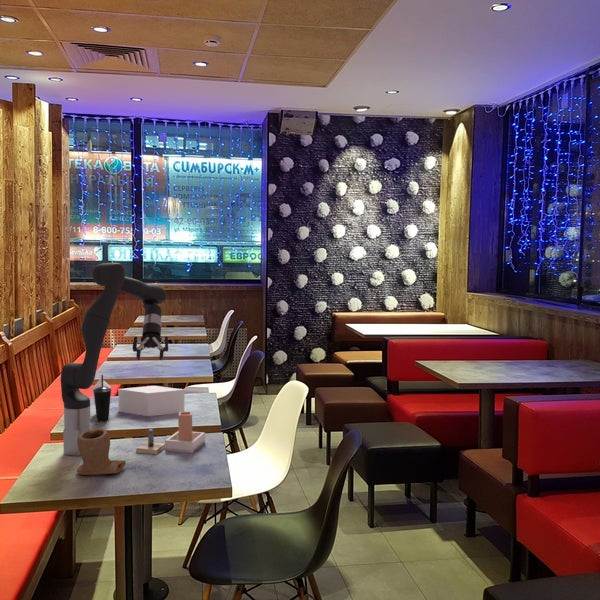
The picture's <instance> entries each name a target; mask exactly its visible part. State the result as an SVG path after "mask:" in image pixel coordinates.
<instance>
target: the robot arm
mask: <svg viewBox="0 0 600 600" xmlns="http://www.w3.org/2000/svg"><path fill="white" fill-rule="evenodd" d="M92 279H93V281H94V282H95V284H96V285H98V286H99V287H104V288H103V290H102V292H101V294H100V295H99V296H98V298H97V299H96V300H95V301H94V302H93V303H92V304H91V305H90V306H89V308H88V309H87V310H86V312H85V314H84V318H83V319H82V324H81V327H80V332H81V337H82V339H83V343H84V347H85V355H84V359H83V361H82V363H81V362H80V363H78V362H67V363H65V364H64V365H63V367H62V368H61V372H60V389H61V390H60V392H61V400H62V402H63V424H64V425H63V426H64V428H63V431H62V433H63V434H62V435H63V436H62V437H63V455H65V456H76V457H79V456H81V455H80V452H79V449H78V444H77V439H78V436H79V435H80V434H81V433H83V432H85V431H88V430H92V429H91V399H90V397H89V396H87V395H85V394H84V393H83V392H81V391H80V390H88V389H89V388H91V387H92V385H93V383H94V381H95V377H96V374H97V369H98V365H99V359H100V354H101V351H102V350H101V349H102V347H103V343H104V339H105V336H106V333H107V330H108V327H109V324H110V320H111V317H112V314H113V310H114V307H115V303H116V301H117V298H118V296H119V294H120V292H123V293H125V294H128V295H130V296H132V297H135V298H136V299H139V300H141V302H142V305H143V307H144V308H143V309H144V317H143V321H142V322H143V323H142V333H141V334H142V335H141V337H138V336H134V337H133V343H132V352H136V355H135V356H136V359H137V360H138V361H140V360H141V355H142V351H144V350H145V349H151V348H152V349H155V348H156V349H157V350H158V351H159V361H162V359H164V353H165V352H169V337H168V336H165V337H161V336H162V312H163V311H162V307H161V306H160V305H159V304H162V303H164V302H166V300H167V298H168V296H167V292H166V290H165V289H164V288H163V287H161V286H158V285H155V284H148V283H145V282H144V281H141V280H138V279H136V278H133V277H128V276H126V269H125V267H124V266H123V264H121V263H119V262H105V263H99V264H97V265H96V266H95V267H94V268H93V271H92ZM140 342H141V343H140ZM139 343H140V344H139ZM161 343H163V344H164V346H162V344H161ZM138 344H139V345H138Z"/></svg>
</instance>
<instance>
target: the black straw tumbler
mask: <svg viewBox="0 0 600 600" xmlns="http://www.w3.org/2000/svg"><path fill="white" fill-rule="evenodd" d="M98 387H102V380H101V378H99V380H98V381H97V382H96V384H95V385H93V387H92V389H91V392H92V393H93V394H92V396H93V402H94V404H95V398H94V392H93V390H94V389H96V388H98ZM103 387H108V388H111V389H112V387H111V386H110V385H109V383H108V382H106V381H105V379H103Z"/></svg>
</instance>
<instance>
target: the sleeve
mask: <svg viewBox="0 0 600 600" xmlns="http://www.w3.org/2000/svg"><path fill="white" fill-rule="evenodd" d="M177 420H178V430H177V431H178V439H179V441H190V442H191V441H192V432H193V411H184V412H179V413H178V418H177Z"/></svg>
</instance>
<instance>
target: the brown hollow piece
mask: <svg viewBox="0 0 600 600" xmlns="http://www.w3.org/2000/svg"><path fill="white" fill-rule="evenodd" d="M77 444H78V449H79V452H80V456H81V458H82V464H80V466H78V467H77V469H76V472H77V474H78V475H83V476H84V475H86V476H90V475H91V476H93V475H96V476H97V475H109V474H111V475H112V474H118V473H120V472H121V471H122V470H123V469H124V467H125V465H126V464H127V463H126V462H127V461H126V460H124V459H123V460H122V459H121V460H118V459H117V460H115V459H114V460H111V459H110V458H109V456H110V455H109V453H110V447H111V437H110V434H109V432H108V431H107V429H104V428H95V429H91V430H88V431H85V432H83V433H81V434H80V435H79V436H78V439H77Z"/></svg>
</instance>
